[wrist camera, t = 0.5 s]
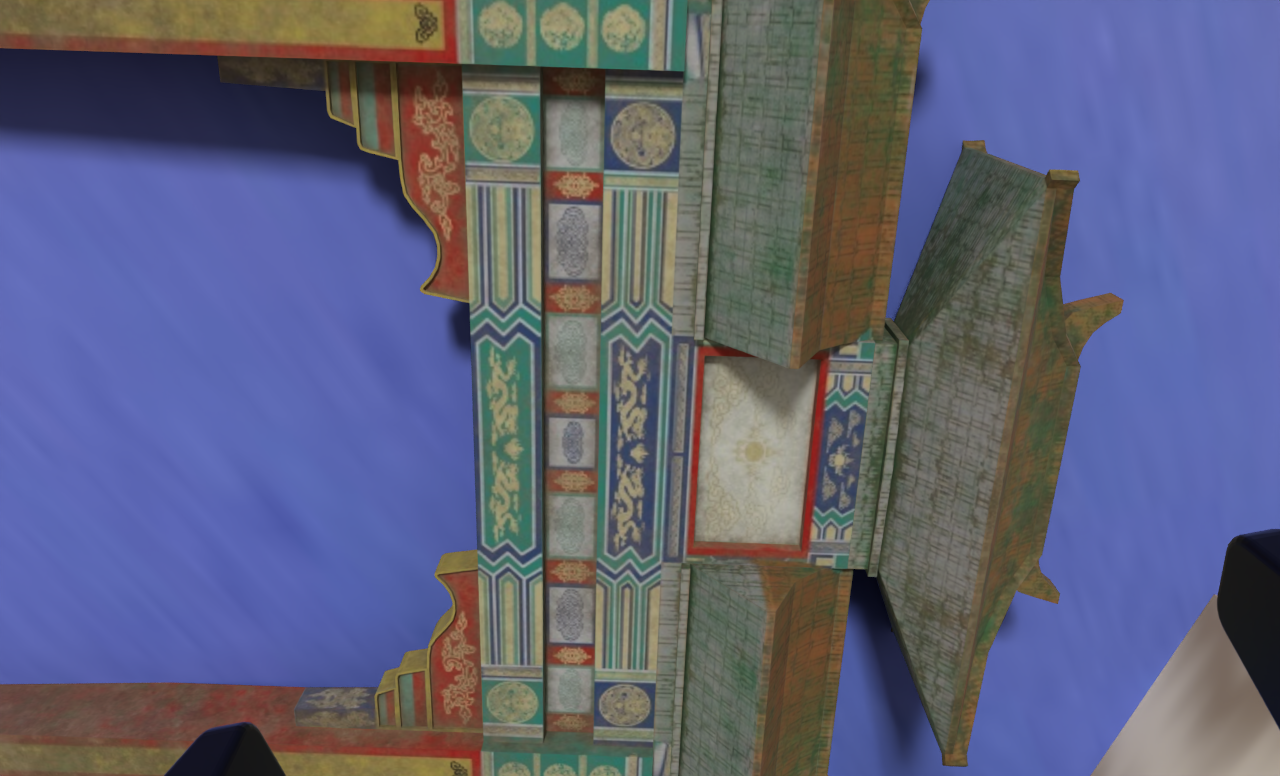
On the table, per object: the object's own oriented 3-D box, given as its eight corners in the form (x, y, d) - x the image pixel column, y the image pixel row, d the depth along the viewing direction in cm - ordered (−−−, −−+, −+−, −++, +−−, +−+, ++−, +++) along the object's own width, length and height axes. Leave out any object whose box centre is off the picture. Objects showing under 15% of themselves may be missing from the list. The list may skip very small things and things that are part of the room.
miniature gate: (-614, -332, 15) (1329, -267, 15) (-284, -237, 20) (1153, -190, 20) (-158, 943, 24) (1024, 986, 24) (-15, 782, 29) (959, 817, 29)
